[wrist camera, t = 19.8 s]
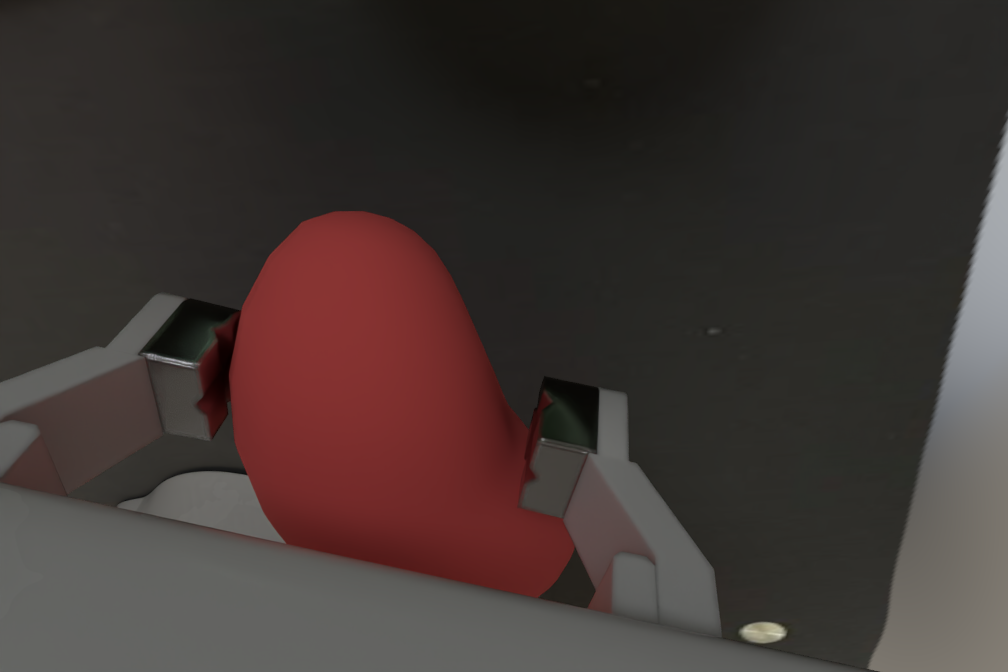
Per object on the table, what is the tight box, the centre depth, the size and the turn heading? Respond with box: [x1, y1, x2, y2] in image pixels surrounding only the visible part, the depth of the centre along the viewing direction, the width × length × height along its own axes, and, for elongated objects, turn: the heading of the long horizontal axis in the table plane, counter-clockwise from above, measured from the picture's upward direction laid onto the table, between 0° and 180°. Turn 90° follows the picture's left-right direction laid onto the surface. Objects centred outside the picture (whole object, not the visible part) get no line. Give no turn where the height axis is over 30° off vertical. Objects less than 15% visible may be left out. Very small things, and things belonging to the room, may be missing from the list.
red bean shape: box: [229, 211, 575, 598], centre depth 13 cm, size 5×9×6 cm
